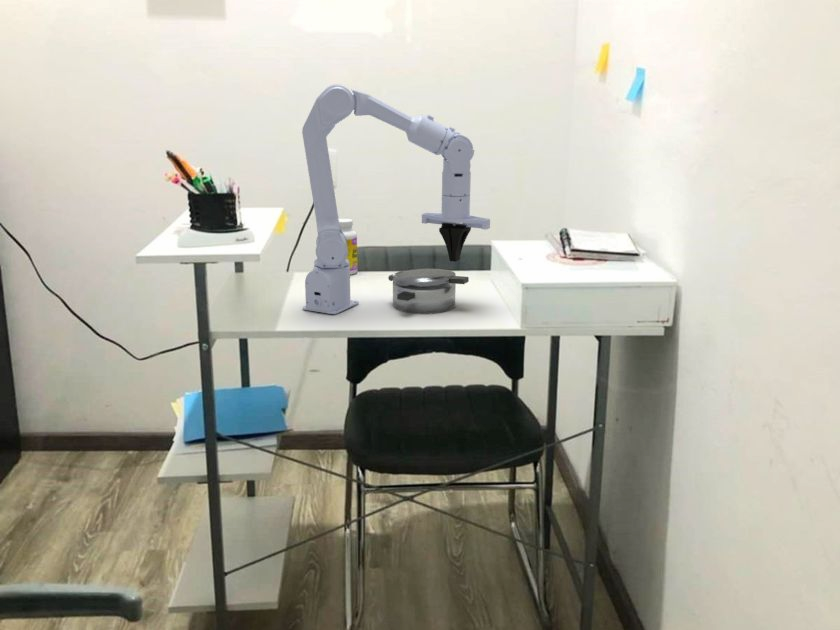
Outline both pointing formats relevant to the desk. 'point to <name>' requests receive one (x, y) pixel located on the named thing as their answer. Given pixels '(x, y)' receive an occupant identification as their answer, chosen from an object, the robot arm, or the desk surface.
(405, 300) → the pot
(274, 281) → the desk surface
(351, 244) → the supplement bottle
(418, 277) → the lid
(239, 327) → the desk surface
